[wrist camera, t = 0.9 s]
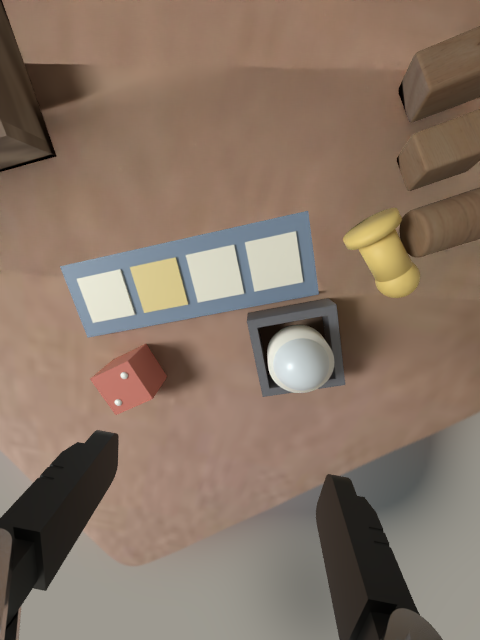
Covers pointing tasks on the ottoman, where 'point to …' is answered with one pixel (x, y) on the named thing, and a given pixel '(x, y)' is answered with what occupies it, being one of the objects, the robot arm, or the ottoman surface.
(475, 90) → the wooden block set
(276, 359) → the dome
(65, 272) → the board
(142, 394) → the die
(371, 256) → the pawn
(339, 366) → the base
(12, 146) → the serving frame
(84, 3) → the ottoman surface
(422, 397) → the ottoman surface
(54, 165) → the ottoman surface
